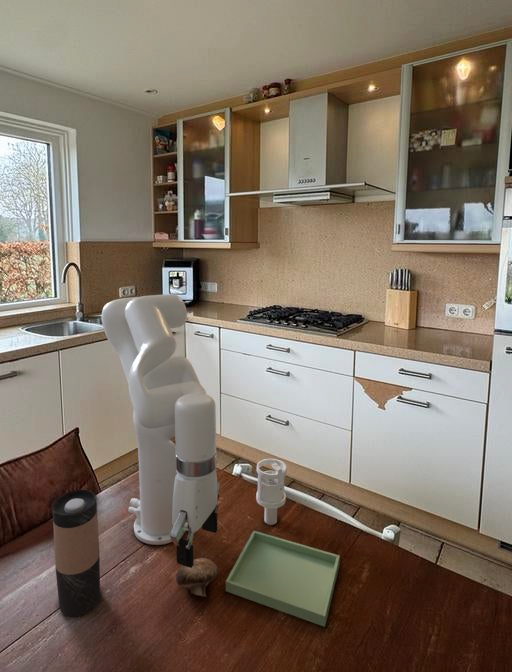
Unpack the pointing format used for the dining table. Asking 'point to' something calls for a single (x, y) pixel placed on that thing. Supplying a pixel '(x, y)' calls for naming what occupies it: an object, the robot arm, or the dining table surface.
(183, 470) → the robot arm
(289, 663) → the dining table surface
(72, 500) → the travel mug
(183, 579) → the mushroom
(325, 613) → the tray
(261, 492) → the white open cylindrical frame
